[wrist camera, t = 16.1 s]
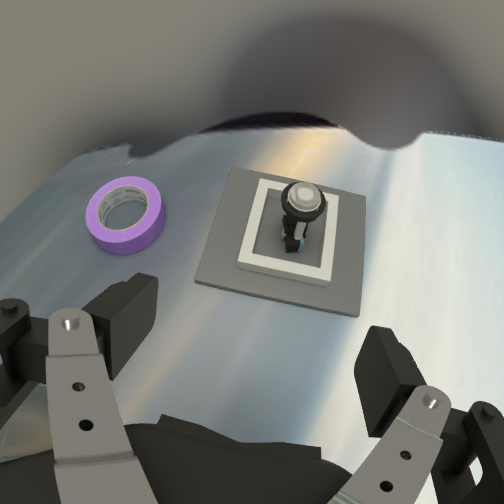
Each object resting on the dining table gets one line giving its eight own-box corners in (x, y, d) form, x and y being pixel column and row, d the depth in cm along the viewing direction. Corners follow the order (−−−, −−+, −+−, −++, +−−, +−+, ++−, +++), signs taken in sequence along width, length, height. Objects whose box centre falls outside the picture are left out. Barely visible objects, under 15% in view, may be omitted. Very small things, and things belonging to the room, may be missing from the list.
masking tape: (159, 183, 50) (154, 167, 47) (172, 243, 45) (167, 229, 42) (92, 202, 48) (84, 188, 45) (96, 264, 43) (87, 252, 40)
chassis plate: (195, 282, 42) (192, 273, 40) (232, 170, 52) (232, 158, 49) (356, 317, 41) (365, 310, 38) (363, 200, 50) (369, 188, 48)
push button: (269, 215, 47) (277, 168, 38) (305, 213, 47) (319, 167, 38) (275, 256, 44) (286, 214, 35) (313, 253, 44) (332, 212, 35)
